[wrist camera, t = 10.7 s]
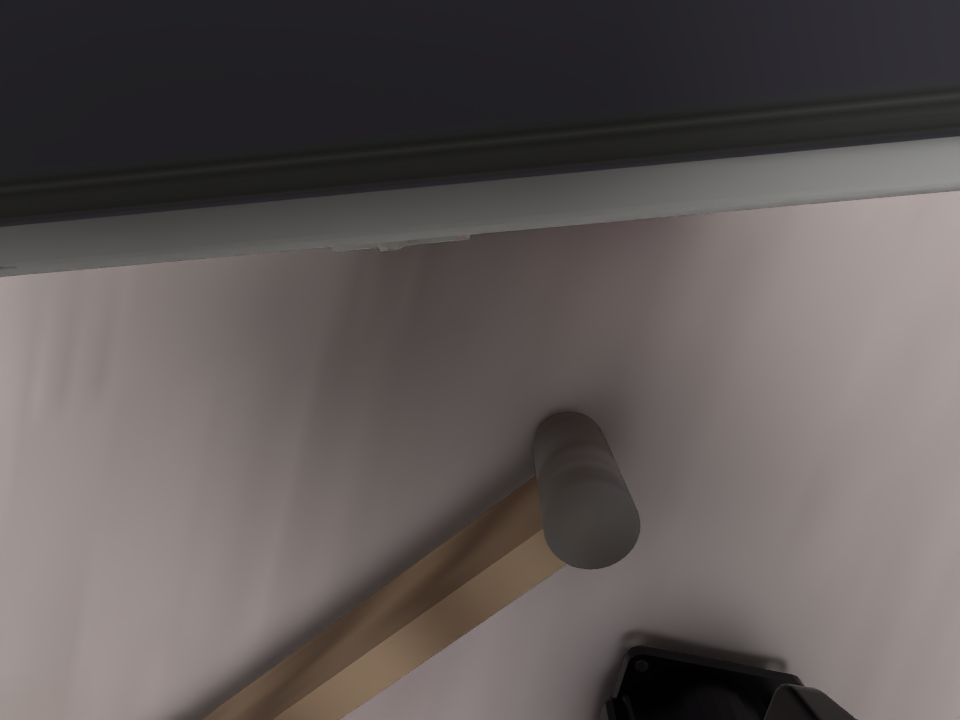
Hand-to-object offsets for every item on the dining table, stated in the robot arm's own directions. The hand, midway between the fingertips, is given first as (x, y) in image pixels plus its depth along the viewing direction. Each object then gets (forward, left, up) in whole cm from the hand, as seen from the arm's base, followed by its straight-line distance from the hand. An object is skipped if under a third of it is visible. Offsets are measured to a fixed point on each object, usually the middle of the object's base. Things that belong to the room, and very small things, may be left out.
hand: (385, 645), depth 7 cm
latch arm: (-4, +2, -13) cm, 14 cm away
